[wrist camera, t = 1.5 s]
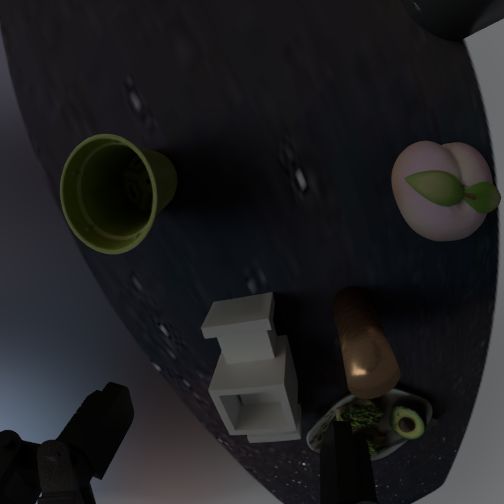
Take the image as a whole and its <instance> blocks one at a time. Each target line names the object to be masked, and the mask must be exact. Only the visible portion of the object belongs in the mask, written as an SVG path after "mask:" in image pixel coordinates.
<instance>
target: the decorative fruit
mask: <svg viewBox="0 0 504 504" xmlns="http://www.w3.org/2000/svg"><path fill="white" fill-rule="evenodd" d="M392 188H393V192H394V196H395V199H396V202H397V205H398V207H399V210H400V212H401V214H402V215H403V217H404V219H405V221H406V222H407V223H408V225H409V226H410V227H411V228H412V229H413V230H414V231H415V232H417V233H418V234H420V235H421V236H423V237H425V238H428V239H430V240H434V241H453V240H459V239H463V238H465V237H467V236H469V235H471V234H472V233H473V232H475V231H476V230H477V229H478V228H479V227H480V225H481V224H482V223H483V221H484V219H485V217H486V215H487V213H489V212H492V211H493V210H494V209H495V208H496V207H497V206H498V205H499V203H500V200H501V196H500V193H499V191H498V189H497V188H496V187H495V186H494V185H493V180H492V175H491V172H490V168H489V166H488V164H487V162H486V161H485V159H484V157H483V156H482V155H481V154H480V153H479V152H478V151H477V150H476V149H475V148H473V147H471V146H470V145H467V144H465V143H460V142H456V143H448V144H444V145H439V144H437V143H435V142H431V141H420V142H417V143H414V144H412V145H410V146H409V147H407V148H406V149H405V150H404V151H403V152H402V153H401V154H400V155H399V157H398V158H397V160H396V162H395V164H394V167H393V171H392Z"/></svg>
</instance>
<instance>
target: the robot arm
mask: <svg viewBox="0 0 504 504" xmlns="http://www.w3.org/2000/svg"><path fill="white" fill-rule="evenodd" d="M402 2H403V3H404V5H405V7H406V9H407V10H408V11H409V13H410V14H411V15H412V17H413V18H414V19H415V20H416V21H417V22H418V23H419V24H421V25H422V26H423V27H424V28H426V29H427V30H429V31H430V32H432V33H433V34H435V35H437V36H440V37H442V38H445V39H449V40H460V39H464V38H466V37H468V36H470V35H472V34H474V33H475V32H477V31H479V30H481V29H484V28H486V27H487V26H489V25H491V24H493V23H495V22H497V21H499V20H501V19H503V18H504V0H402ZM133 418H134V409H133V405H132V401H131V397H130V393H129V389H128V388H127V387H126V386H122V385H119V384H116V383H113V382H109V383H108V384H107V385H106V386H105V388H104V389H103V391H99V390H96V391H95V392H93V393H92V394H90V395H89V396H87V397H86V399H85V400H84V402H83V403H82V404H81V407H79V408H78V410H77V411H76V413H75V414H74V415H73V417H72V418H71V420H70V421H69V422H68V424H67V425H66V427H65V428H64V430H63V431H62V432H61V434H60V435H59V436H58V438H57V439H56V440H48V441H45V442H43V443H42V444H36V443H32V442H27V441H23V440H22V439H21V438H20V437H19V435H18V434H17V433H16V432H14V431H12V430H4V431H1V432H0V504H35V503H36V501H37V500H38V501H37V503H38V504H96V502H95V498H94V495H93V492H92V488H91V484H90V480H91V479H92V477H96V478H98V479H100V480H102V478H103V476H104V474H105V472H106V470H107V468H108V467H109V464H110V462H111V461H112V459H113V457H114V455H115V453H116V452H117V450H118V448H119V446H120V444H121V442H122V440H123V439H124V437H125V435H126V433H127V431H128V429H129V427H130V426H131V424H132V421H133ZM41 492H42V496H41V497H39V495H40V494H41ZM320 504H379V503H378V501H377V498H376V491H375V484H374V477H373V470H372V466H371V457H370V451H369V445H368V443H367V441H366V440H365V438H364V437H363V435H362V434H353V432H352V425H351V422H350V421H330V423H329V425H328V428H327V430H326V433H325V435H324V438H323V440H322V443H321V447H320Z"/></svg>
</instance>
